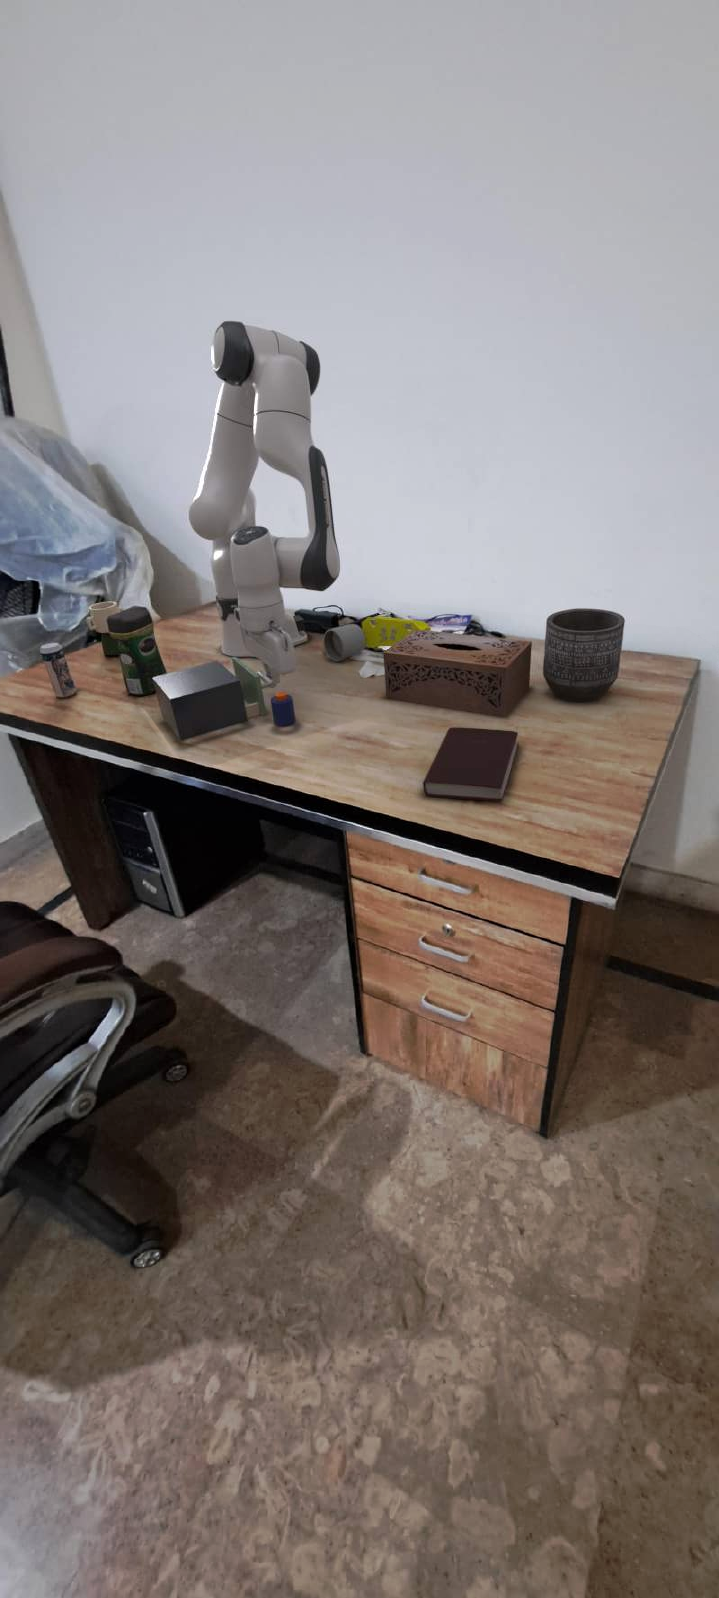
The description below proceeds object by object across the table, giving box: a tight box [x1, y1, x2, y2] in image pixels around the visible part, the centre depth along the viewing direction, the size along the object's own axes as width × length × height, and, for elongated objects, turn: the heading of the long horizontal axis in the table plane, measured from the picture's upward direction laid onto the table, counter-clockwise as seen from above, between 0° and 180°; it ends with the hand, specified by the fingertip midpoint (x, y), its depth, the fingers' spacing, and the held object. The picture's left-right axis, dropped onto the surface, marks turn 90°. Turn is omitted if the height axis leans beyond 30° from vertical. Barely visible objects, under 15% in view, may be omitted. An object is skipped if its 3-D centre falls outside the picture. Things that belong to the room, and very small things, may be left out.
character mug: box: [85, 601, 125, 656], centre depth 176 cm, size 11×7×13 cm, turn 141°
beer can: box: [39, 641, 77, 698], centre depth 155 cm, size 5×5×12 cm
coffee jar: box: [107, 605, 168, 697], centre depth 152 cm, size 10×8×19 cm
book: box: [422, 726, 519, 802], centre depth 112 cm, size 12×19×3 cm, turn 161°
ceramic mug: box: [322, 624, 366, 662], centre depth 162 cm, size 11×8×8 cm
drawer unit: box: [152, 660, 249, 742], centre depth 135 cm, size 14×14×10 cm
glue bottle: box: [270, 691, 297, 728], centre depth 131 cm, size 4×4×7 cm
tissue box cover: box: [382, 629, 533, 718], centre depth 137 cm, size 26×14×10 cm, turn 59°
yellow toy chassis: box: [361, 615, 432, 653], centre depth 162 cm, size 16×6×8 cm, turn 58°
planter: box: [542, 607, 626, 703], centre depth 131 cm, size 14×14×15 cm
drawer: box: [231, 656, 277, 719], centre depth 137 cm, size 18×14×9 cm
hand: (274, 681), depth 140 cm, fingers closed, pressing on drawer
